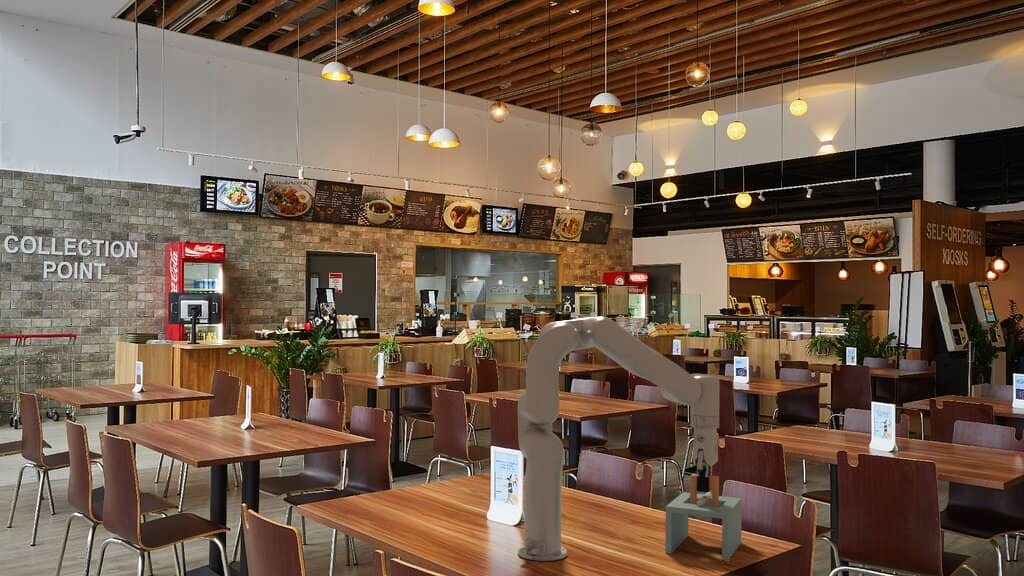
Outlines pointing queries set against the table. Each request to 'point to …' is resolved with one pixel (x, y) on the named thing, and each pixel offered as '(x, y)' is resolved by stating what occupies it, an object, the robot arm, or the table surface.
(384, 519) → the table surface
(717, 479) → the wooden arch bridge
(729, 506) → the shelf
